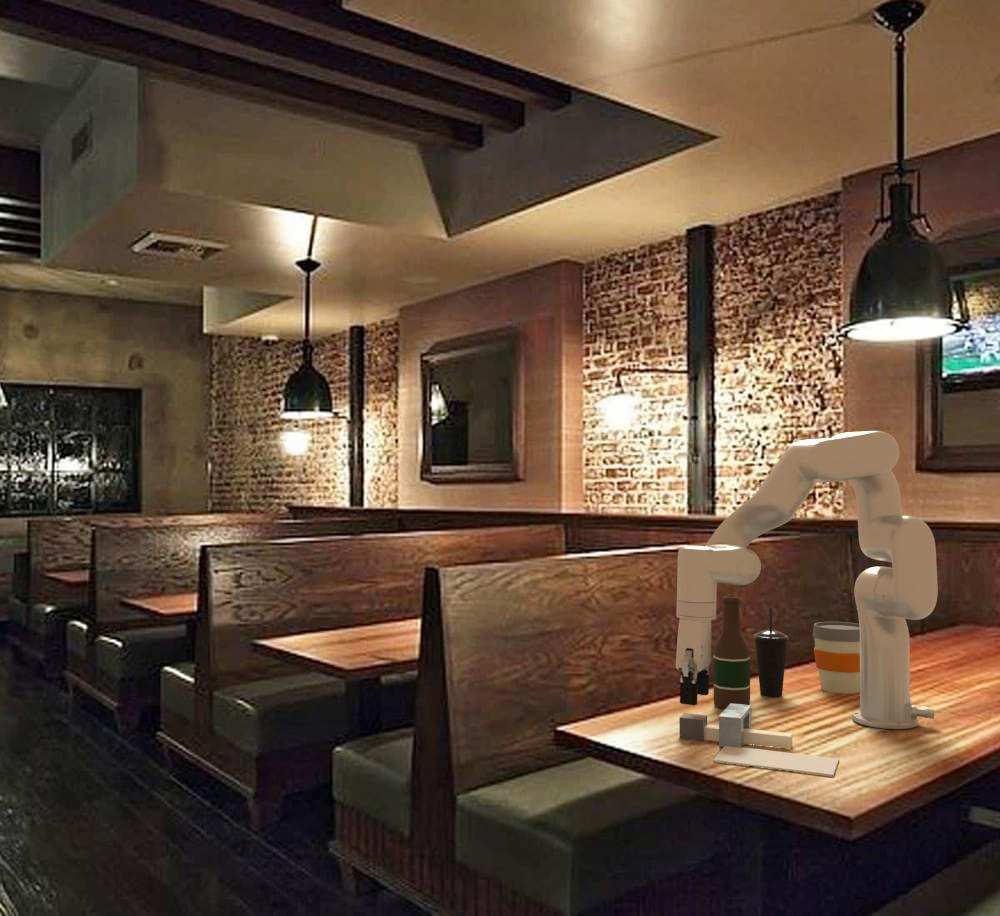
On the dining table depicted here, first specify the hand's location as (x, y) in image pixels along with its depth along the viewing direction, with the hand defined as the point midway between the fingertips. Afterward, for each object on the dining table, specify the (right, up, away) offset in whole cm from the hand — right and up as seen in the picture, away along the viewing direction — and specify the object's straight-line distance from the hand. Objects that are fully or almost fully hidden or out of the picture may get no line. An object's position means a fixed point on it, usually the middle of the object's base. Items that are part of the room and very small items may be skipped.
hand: (694, 699), depth 185 cm
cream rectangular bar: (+7, -7, -3) cm, 11 cm away
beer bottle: (+13, -8, +24) cm, 28 cm away
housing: (+7, -7, -3) cm, 11 cm away
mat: (+11, -7, -16) cm, 21 cm away
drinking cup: (+25, -8, +35) cm, 44 cm away
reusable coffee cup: (+43, -8, +41) cm, 60 cm away
